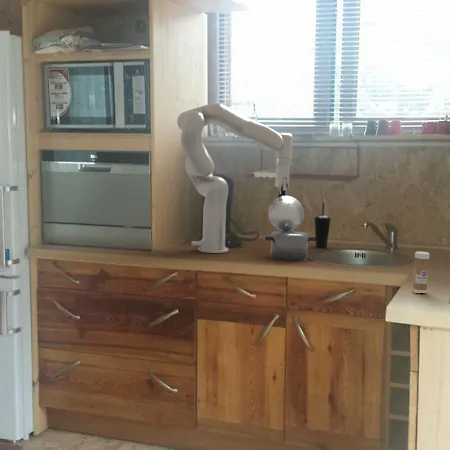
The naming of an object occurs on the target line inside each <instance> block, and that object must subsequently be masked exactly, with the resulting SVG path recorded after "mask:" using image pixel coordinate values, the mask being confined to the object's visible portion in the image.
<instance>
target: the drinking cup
mask: <svg viewBox="0 0 450 450" xmlns="http://www.w3.org/2000/svg"><path fill="white" fill-rule="evenodd" d="M324 213H325V202H322V209H321V214H317V215H314V216H313V218H314V232H315V233H314V236H315V237H316V241H315V247H316V248H318V249H319V248H321V249H324V248H325V249H327V246H328V240H329V232H330V227H331V219H332V216H329V215H328V214H324Z"/></svg>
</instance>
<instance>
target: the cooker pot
mask: <svg viewBox="0 0 450 450" xmlns="http://www.w3.org/2000/svg"><path fill="white" fill-rule="evenodd" d="M263 241H270V243H271V244H270V258H271V259H273V260H276V261H283V260H285V262H299V261H298V260H303V261H305V260H304V259H307V260H308V254H309V252H308V251H309V242H316V237H315V235H314V236H313V235H312V236H311V235H310V236H309V233H307V232H303V231H295V230H292V231H281V230H275V231H272V232H271V235H263Z"/></svg>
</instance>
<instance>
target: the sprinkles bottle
mask: <svg viewBox="0 0 450 450" xmlns="http://www.w3.org/2000/svg"><path fill="white" fill-rule="evenodd" d="M430 255H431V254H430V253H429V252H427V251H416V252H414V268H413V284H412V285H413V287H412V289H413V288H414V289H417V290H427V289H428V287H427V286H428V276H429V262H430V260H429V259H430ZM427 291H428V290H427Z"/></svg>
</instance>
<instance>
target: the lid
mask: <svg viewBox="0 0 450 450" xmlns="http://www.w3.org/2000/svg"><path fill="white" fill-rule="evenodd" d="M267 213H268V219H269V222H270V223H271V225H272V226H273V227H274V228H275V229H277V230H278V231H295V230H296V229H298V227H300V226H301V225H302V223H303V221H304V219H305V210H304V207H303V204H302V203H301V202H300V201H299V200H298V199H297V198H295V197H293V196H290V195H286V196H281V197H277V198H275V199H274V200H273V201H272V202H271V204H270V206H269V209H268V211H267Z"/></svg>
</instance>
